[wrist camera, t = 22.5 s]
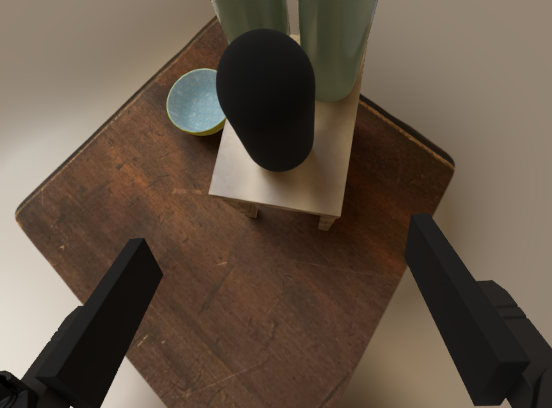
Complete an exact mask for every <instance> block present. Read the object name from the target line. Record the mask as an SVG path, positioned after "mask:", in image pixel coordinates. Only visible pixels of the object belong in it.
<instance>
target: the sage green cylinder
mask: <svg viewBox="0 0 552 408" xmlns="http://www.w3.org/2000/svg"><path fill="white" fill-rule="evenodd" d="M297 1H298V20H299V41H300V46H301V47H302V48H303V50H304V51H305V53H306V54H307V56H308V58H309V60H310V62H311V64H312V67H313V71H314V75H315V84H316V89H315V100H317V101H320V102H336V101H339V100H341V99H343V98H345V97H346V96H348V95H349V94H350V93H351V92H352V90H353V89H354V87H355V85H356V82H357V78H358V74H359V70H360V67H361V63H362V59H363V55H364V51H365V47H366V44H367V40H368V36H369V32H370V28H371V24H372V21H373V17H374V13H375V9H376V5H377V2H378V0H297Z"/></svg>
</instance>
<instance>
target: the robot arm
mask: <svg viewBox="0 0 552 408" xmlns="http://www.w3.org/2000/svg"><path fill="white" fill-rule="evenodd" d="M405 260H406V262H407V264H408V266H409V268H410V270H411V272H412V274H413V277H414V279H415V281H416V283H417V285H418V287H419V289H420V291H421V294H422V296H423V298H424V300H425V302H426V304H427V306H428V308H429V311H430V313H431V315H432V317H433V319H434V321H435V323H436V325H437V327H438V330H439V332H440V334H441V336H442V338H443V340H444V342H445V345H446V346H447V349H448V351H449V353H450V355H451V357H452V359H453V361H454V364H455V366H456V368H457V370H458V372H459V374H460V376H461V378H462V381H463V383H464V385H465V387H466V389H467V391H468V393H469V395H470V398H471V400H472V402H473V404H474V406H499V405H501V403H502V402H503V401H504V399H505V398H507V400H508V402H509V403H510V405H511V407H512V408H552V348H551V347H550V346H549V344H548V343H547V342H546V341H545V339H544V338H543V337H542V335H541V334H540V333H539V332H538V330H537V329H536V328H535V326H534V325H533V324H532V323H531V321H530V320H529V319H527V318H526V315H525V314H524V312H523V311H522V310H521V308H520V307H518V306H517V303H516V302H515V301H514V300H513V298H512V297H511V296H510V294H509V293H508V292H507V291H506V290H505V289H503V288H502V287H501V286H499V285H498V284H496V283H495V282H494V281H493V280H489V281H475V279H474V278H473V277H472V275H471V274H470V272H469V271H468V269H467V268H466V266H465V265H464V263H463V262H462V260H461V259H460V258H459V256H458V255H457V253H456V252H455V250H454V249H453V248H452V246H451V245H450V243H449V242H448V240H447V239H446V238H445V236H444V235H443V233H442V232H441V230H440V229H439V227H438V226H437V225H436V223H435V222H434V220H433V219H432V217H431V216H430V214H429V213H425V214H414V215H411V220H410V226H409V232H408V239H407V245H406V251H405ZM162 276H163V273H162V271H161V269H160V267H159V265H158V264H157V262H156V260H155V258H154V256H153V254H152V252H151V250H150V248H149V246H148V245H147V243H146V241H145V239H144V238H136V239H130V240H129V241H128V243H127V244H126V245H125V247H124V248H123V250H122V251H121V253H120V254H119V256H118V257H117V258H116V260H115V261H114V263H113V264H112V266H111V267H110V269H109V270H108V271H107V273H106V274H105V276H104V277H103V279H102V280H101V281H100V283H99V284H98V286H97V287H96V289H95V290H94V292H93V293H92V294H91V296H90V297H89V299H88V300H87V302H86V303H85V304H84V306H78V307H77V308H76V309H75V310H74V311H73V312H71V313H70V314H69V315H68V316H67V317H66V318H65V320H64V321H63V322H62V324H61V325H60V327H59V328H58V331H56V332H55V333H54V335H53V336H52V338H51V341H49V342H48V343H47V345H46V346H45V347H44V349H43V350H42V351H41V353H40V354H39V356H38V357H37V358H36V360H35V361H34V362H33V364H32V365H31V367H30V368H29V369H28V371H27V372H26V373H25V375H24V376H23V378H22V379H21V380H19V379H18V378H17V377H15V376H14V375H13V374H11V373H10V372H7V371H0V408H70V406H72V407H73V408H100V407H101V405H102V403H103V401H104V398H105V396H106V394H107V392H108V390H109V388H110V386H111V384H112V382H113V380H114V378H115V375H116V373H117V371H118V368H119V367H120V365H121V363H122V361H123V359H124V356H125V354H126V352H127V350H128V348H129V346H130V344H131V342H132V340H133V338H134V335H135V333H136V331H137V329H138V327H139V325H140V323H141V321H142V319H143V316H144V314H145V312H146V310H147V308H148V306H149V304H150V302H151V300H152V297H153V295H154V293H155V291H156V289H157V287H158V285H159V283H160V281H161V279H162Z"/></svg>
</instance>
